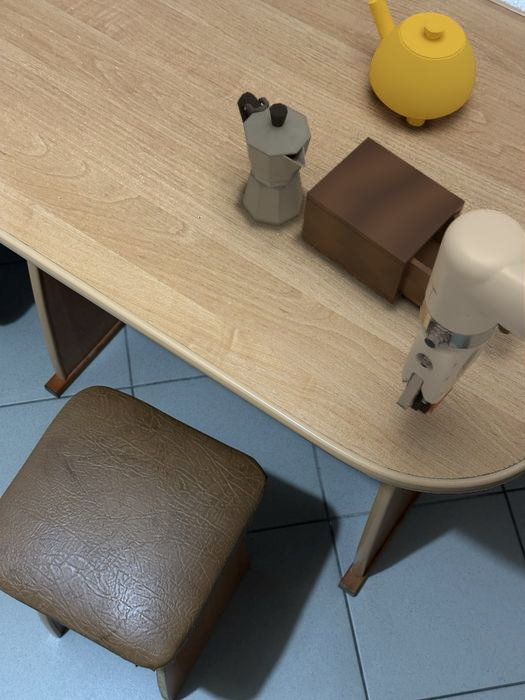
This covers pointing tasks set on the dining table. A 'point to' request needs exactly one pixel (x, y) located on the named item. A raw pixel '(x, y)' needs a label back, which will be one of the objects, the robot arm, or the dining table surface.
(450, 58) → the teapot
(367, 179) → the cabinet
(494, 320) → the robot arm
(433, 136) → the dining table surface
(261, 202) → the coffee maker
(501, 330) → the drawer
